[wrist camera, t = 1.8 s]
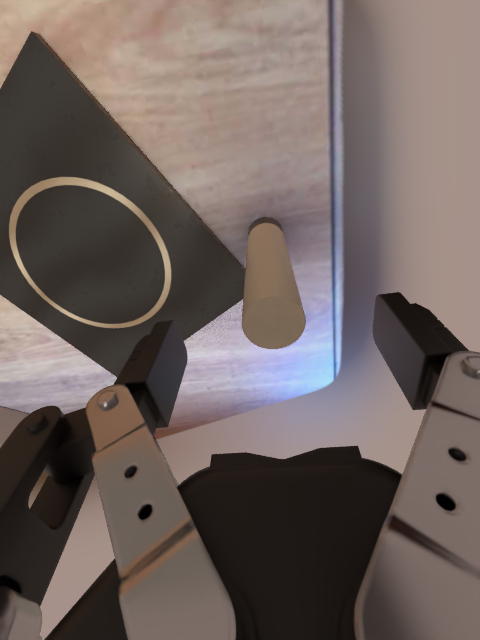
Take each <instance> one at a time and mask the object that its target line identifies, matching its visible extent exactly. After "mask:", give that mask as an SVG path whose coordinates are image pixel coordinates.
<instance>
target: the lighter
mask: <svg viewBox="0 0 480 640" xmlns="http://www.w3.org/2000/svg"><path fill="white" fill-rule="evenodd" d="M28 415H29V414H28V413H24V412H20V411H16V410H12V409H8V408H4V407H0V447H1V446H2V445H3V443H4V442H5V441H6V439H7V438H8V437H9V435H10V434H11V433H12V431H13V430H14V429H15V428H16V426H17V425H18V424H19V423H20V422H21V421H22V420H23V419H24V418H25V417H26V416H28Z"/></svg>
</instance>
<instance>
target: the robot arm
mask: <svg viewBox="0 0 480 640" xmlns="http://www.w3.org/2000/svg"><path fill="white" fill-rule="evenodd" d="M373 337H374V341H375V344H376V345H377V347H378V349H379V351H380V352H381V354H382V356H383V358H384V360H385V361H386V363H387V365H388V367H389V368H390V370H391V372H392V374H393V376H394V377H395V379H396V381H397V383H398V384H399V386H400V388H401V390H402V391H403V393H404V395H405V397H406V398H407V400H408V402H409V404H410V405H411V407H412V409H413V410H421V409H426V412H425V414H424V417H423V420H422V423H421V425H420V428H419V431H418V434H417V436H416V439H415V442H414V445H413V447H412V450H411V453H410V456H409V458H408V461H407V464H406V467H405V469H404V472H403V475H402V474H401V473H399V472H398V471H396V470H394V469H392V468H390V467H388V466H386V465H383V464H381V463H378V462H376V461H372V460H369V459H365V458H362V457H361V454H360V451H359V448H358V446H347V447H329V448H319V449H316V450H313V451H309V452H306V453H303V454H300V455H297V456H293V457H290V458H287V459H277V458H272V457H266V456H261V455H256V454H251V453H230V454H229V453H228V454H214V455H213V454H212V456H211V464H210V467H207V468H204V469H202V470H200V471H198V472H196V473H194V474H193V475H191V476H190V477H188V478H187V479H186V480H184V481H183V482H182V483H181V484H180V485H179V484H178V482H177V480H176V478H175V477H174V475H173V473H172V470H171V468H170V467H169V465H168V463H167V461H166V459H165V457H164V455H163V453H162V451H161V449H160V447H159V445H158V443H157V441H156V439H155V437H154V433H155V430H156V428H163V427H168V425H169V421H170V418H171V414H172V411H173V408H174V404H175V401H176V398H177V394H178V391H179V388H180V384H181V381H182V377H183V374H184V371H185V367H186V364H187V350H186V347H185V344H184V341H183V338H182V335H181V333H180V330H179V327H178V324H177V322H176V321H175V320H169V321H161V322H156V323H155V325H154V327H153V329H152V331H151V333H150V335H145V336H144V337H143V338H142V339H141V340H140V341H139V342H138V343H137V344H136V346H135V348H134V349H133V351H132V354H131V355H130V356H129V358H128V361H127V362H126V364H125V365H124V367H123V369H122V371H121V372H120V374H119V376H118V378H117V380H116V381H115V383H114V385H111V386H108V387H106V388H104V389H102V390H100V391H99V392H97V393H96V394H95V395H94V396H93V397H92V398H91V399H90V400H89V402H88V403H87V406H86V408H83V409H80V410H77V411H74V412H71V413H68V414H65V415H64V414H63V413H62V411H61V410H60V409H59V408H58V407H56V406H46V407H43V408H40V409H38V410H36V411H34V412H32V413H31V414H29V415H28V416H26V417H25V418H24V419H23V420H22V421H21V422H20V423H19V424H18V425H17V426H16V428H15V429H14V430H13V431H12V433H11V434H10V435H9V437H8V438H7V439H6V441H5V442H4V443H3V445H2V446H1V447H0V640H42V638H41V636H40V631H41V626H42V612H41V609H40V605H41V603H42V600H43V598H44V595H45V593H46V591H47V588H48V586H49V583H50V581H51V579H52V576H53V574H54V571H55V569H56V567H57V564H58V562H59V559H60V557H61V555H62V552H63V550H64V547H65V545H66V543H67V540H68V538H69V535H70V533H71V531H72V528H73V526H74V523H75V521H76V518H77V516H78V514H79V511H80V509H81V506H82V504H83V502H84V499H85V497H86V494H87V492H88V489H89V487H90V485H91V482H92V480H93V477H94V475H95V476H96V480H97V484H98V489H99V493H100V497H101V502H102V505H103V510H104V514H105V518H106V522H107V527H108V531H109V535H110V539H111V543H112V547H113V552H114V556H115V559H114V560H113V561H112V562H111V563H110V564H109V566H108V567H107V568H106V569H105V570H104V571H103V572H102V574H101V575H100V576H99V577H98V578H97V579H96V581H95V582H94V583H93V584H92V585H91V586H90V587H89V589H88V590H87V591H86V592H85V593H84V595H83V596H82V597H81V598H80V599H79V600H78V601H77V603H76V604H75V605H74V606H73V607H72V608H71V609H70V611H69V612H68V613H67V614H66V615H65V616H64V618H63V619H62V620H61V621H60V622H59V623H58V625H57V626H56V627H55V628H54V629H53V630H52V631H51V633H50V634H49V635H48V636H47V637H46V638H45V639H44V640H480V353H478V352H473V351H469V350H468V349H467V348H465V346H464V345H463V344H462V343H461V342H460V341H459V340H458V339H457V338H456V337H455V336H454V335H453V334H452V333H451V332H450V331H449V330H448V329H447V328H446V327H444V325H443V324H442V323H441V322H440V321H439V320H437V317H436V316H435V315H434V314H432V312H431V311H430V310H428V309H426V308H424V307H422V306H420V305H418V304H416V303H414V304H410V303H409V302H408V301H407V300H406V299H405V297H404V296H403V295H402V294H401V293H399V292H397V293H389V294H381V295H377V296H376V299H375V308H374V320H373ZM43 470H44V471H45V472H46V473H47V474H48V477H47V479H46V481H45V483H44V485H43V486H42V488H41V490H40V492H39V494H38V495H37V497H36V499H35V501H34V503H33V504H32V506H31V508H30V510H29V507H28V500H29V496H30V493H31V491H32V489H33V488H34V486H35V484H36V482H37V481H38V479H39V477H40V475H41V474H42V472H43Z"/></svg>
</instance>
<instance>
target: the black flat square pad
mask: <svg viewBox="0 0 480 640" xmlns="http://www.w3.org/2000/svg"><path fill="white" fill-rule="evenodd" d="M245 272H246V270H245V269H244V268H243V267H242V266H241V265H240V264H239V262H238V261H237V260H236V259H235V258H234V257H233V256H232V254H231V253H230V252H229V251H228V250H227V249H226V248H225V247H224V245H223V244H222V243H221V242H220V241H219V240H218V239H217V237H216V236H215V235H214V234H213V233H212V232H211V231H210V229H209V228H208V227H207V226H206V225H205V224H204V223H203V221H202V220H201V219H200V218H199V217H198V216H197V215H196V213H195V212H194V211H193V210H192V209H191V208H190V207H189V205H188V204H187V203H186V202H185V201H184V200H183V199H182V197H181V196H180V195H179V194H178V193H177V192H176V191H175V189H174V188H173V187H172V186H171V185H170V184H169V183H168V181H167V180H166V179H165V178H164V177H163V176H162V175H161V173H160V172H159V171H158V170H157V169H156V168H155V167H154V165H153V164H152V163H151V162H150V161H149V160H148V159H147V158H146V156H145V155H144V154H143V153H142V152H141V151H140V150H139V148H138V147H137V146H136V145H135V144H134V143H133V142H132V140H131V139H130V138H129V137H128V136H127V135H126V134H125V132H124V131H123V130H122V129H121V128H120V127H119V126H118V124H117V123H116V122H115V121H114V120H113V119H112V118H111V116H110V115H109V114H108V113H107V112H106V111H105V110H104V108H103V107H102V106H101V105H100V104H99V103H98V102H97V100H96V99H95V98H94V97H93V96H92V95H91V94H90V92H89V91H88V90H87V89H86V88H85V87H84V86H83V84H82V83H81V82H80V81H79V80H78V79H77V78H76V76H75V75H74V74H73V73H72V72H71V71H70V70H69V69H68V67H67V66H66V65H65V64H64V63H63V62H62V61H61V59H60V58H59V57H58V56H57V55H56V54H55V53H54V51H53V50H52V49H51V48H50V47H49V46H48V45H47V43H46V42H45V41H44V40H43V39H42V38H41V37H40V35H39V34H37V33H35V32H32V31H31V33H30V35H29V37H28V39H27V40H26V42H25V44H24V46H23V48H22V50H21V52H20V53H19V55H18V57H17V59H16V61H15V63H14V65H13V66H12V68H11V70H10V72H9V74H8V76H7V78H6V79H5V81H4V83H3V85H2V87H1V89H0V295H1V296H3V297H4V298H6V299H7V300H9V301H10V302H11V303H13V304H14V305H16V306H17V307H18V308H20V309H21V310H23V311H24V312H26V313H27V314H28V315H30V316H31V317H33V318H34V319H35V320H37V321H38V322H40V323H41V324H43V325H44V326H45V327H47V328H48V329H50V330H51V331H52V332H54V333H55V334H57V335H58V336H60V337H61V338H62V339H64V340H65V341H67V342H68V343H69V344H71V345H72V346H74V347H75V348H77V349H78V350H79V351H81V352H82V353H84V354H85V355H86V356H88V357H89V358H91V359H92V360H94V361H95V362H96V363H98V364H99V365H101V366H102V367H103V368H105V369H106V370H108V371H109V372H111V373H112V374H113V375H115V376H116V377H118V376H119V374H120V372H121V371H122V369H123V367H124V365H125V364H126V362H127V361H128V358H129V356H130V355H131V354H132V351H133V349H134V348H135V346H136V344H137V343H138V342H139V341H140V340H141V339H142V338H143V337H144V336H145V335H150V333H151V331H152V329H153V327H154V325H155V323H156V322H161V321H169V320H175V321H176V322H177V324H178V327H179V330H180V333H181V335H182V338H183V341H184V340H186V339H187V338H188V337H190V336H191V335H193V334H194V333H195V332H197V331H198V330H200V329H201V328H203V327H204V326H205V325H207V324H208V323H210V322H211V321H212V320H214V319H215V318H217V317H218V316H220V315H221V314H222V313H224V312H225V311H227V310H228V309H229V308H231V307H232V306H234V305H235V304H237V303H238V302H239V301H241V300H242V299H244V286H245Z"/></svg>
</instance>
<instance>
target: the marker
mask: <svg viewBox="0 0 480 640" xmlns="http://www.w3.org/2000/svg"><path fill="white" fill-rule="evenodd" d="M305 324H306V319H305V314H304V311H303V307H302V303H301V299H300V295H299V292H298V288H297V284H296V280H295V276H294V273H293V269H292V265H291V261H290V257H289V254H288V250H287V246H286V242H285V238H284V235H283V231H282V228H281V225H280V224H279V223H278V222H277V221H276V220H275V219H272V218H269V217H263V218H260V219H257V220H256V221H255V222H253V224H252V225H251V226H250V228H249V232H248V244H247V258H246V272H245V286H244V300H243V314H242V328H243V332H244V334H245V335H246V337H247V338H248V339H249V340H250V341H251V342H252V343H254V344H255V345H257V346H259V347H262V348H267V349H279V348H283V347H286V346H289V345H291V344H292V343H294V342H295V341H296V340H298V338H299V337H300V336H301V335H302V333H303V331H304V329H305Z"/></svg>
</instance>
